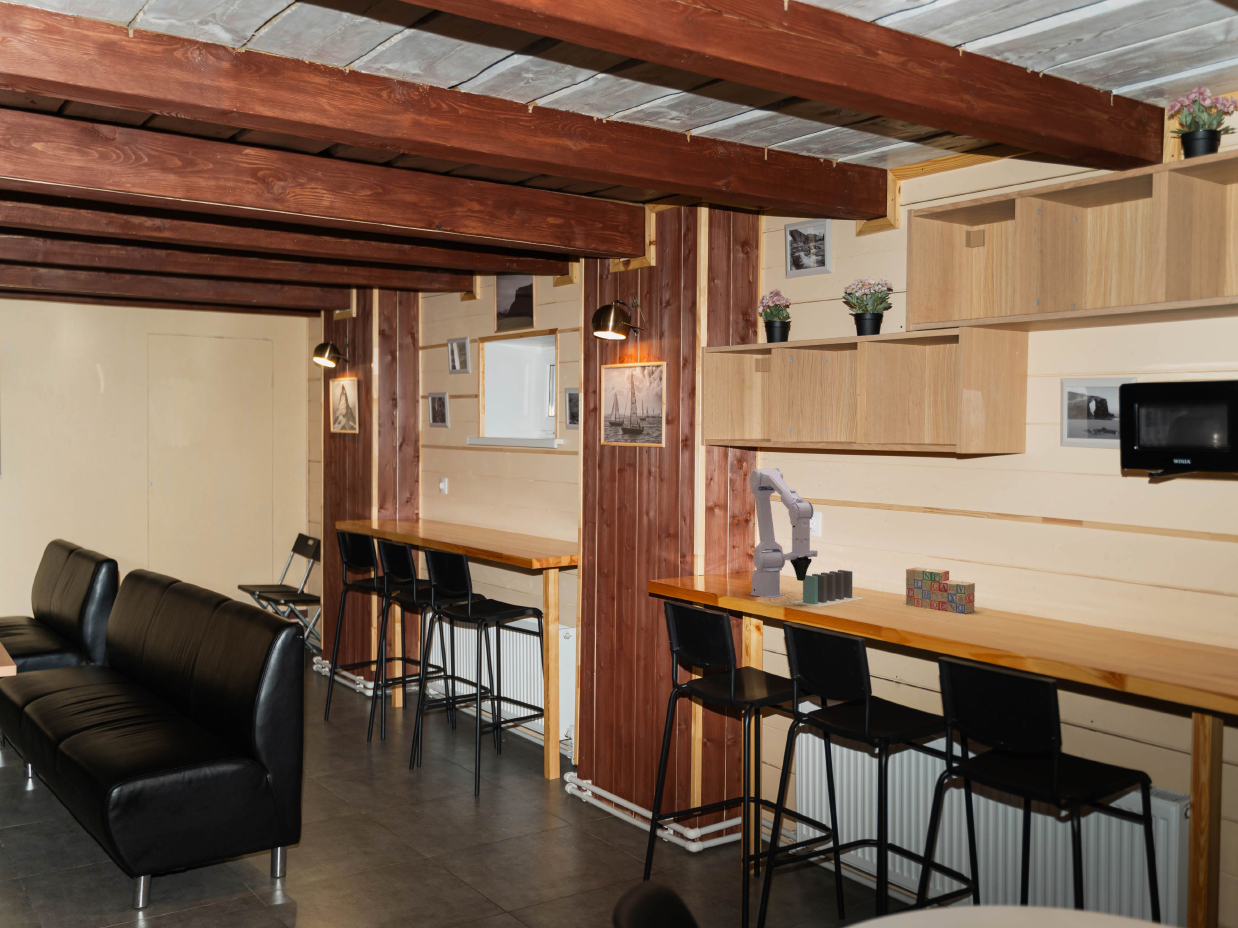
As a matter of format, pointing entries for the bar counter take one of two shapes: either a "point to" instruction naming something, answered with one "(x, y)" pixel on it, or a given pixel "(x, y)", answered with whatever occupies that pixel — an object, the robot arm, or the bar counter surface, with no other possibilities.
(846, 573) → the domino
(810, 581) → the domino
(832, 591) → the domino
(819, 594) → the domino
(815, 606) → the mat
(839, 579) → the domino
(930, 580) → the stack of blocks
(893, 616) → the bar counter surface
